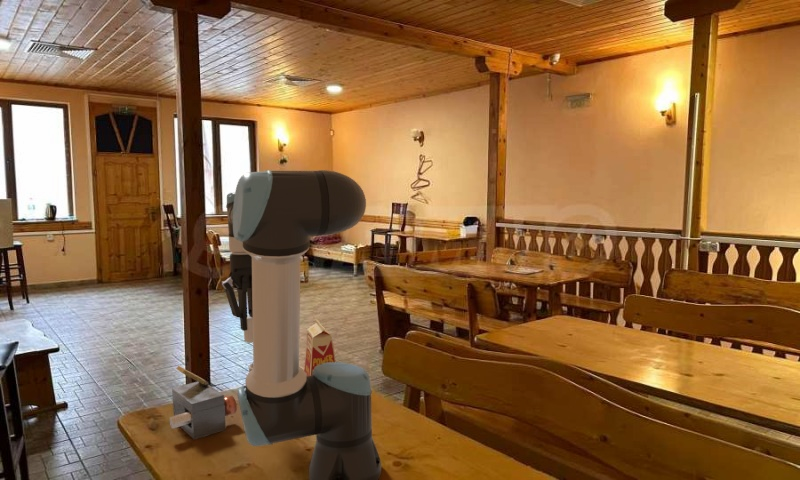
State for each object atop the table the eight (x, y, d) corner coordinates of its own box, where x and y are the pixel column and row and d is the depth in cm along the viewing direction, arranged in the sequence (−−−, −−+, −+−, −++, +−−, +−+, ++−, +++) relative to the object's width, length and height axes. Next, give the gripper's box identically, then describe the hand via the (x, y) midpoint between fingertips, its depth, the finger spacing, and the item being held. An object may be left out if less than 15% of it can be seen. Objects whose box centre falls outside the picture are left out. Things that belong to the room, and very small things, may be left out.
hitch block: (226, 429, 138) (224, 395, 137) (194, 439, 133) (191, 404, 132) (204, 412, 149) (202, 380, 148) (174, 421, 144) (171, 388, 143)
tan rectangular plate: (207, 386, 143) (209, 383, 144) (182, 373, 139) (185, 370, 139) (200, 381, 147) (202, 378, 147) (175, 368, 143) (178, 365, 143)
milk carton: (302, 382, 169) (299, 319, 167) (330, 377, 173) (328, 315, 171) (310, 392, 161) (307, 326, 159) (340, 387, 165) (337, 322, 163)
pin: (237, 415, 141) (236, 398, 140) (175, 435, 131) (174, 416, 130) (229, 410, 144) (228, 393, 144) (168, 428, 134) (167, 410, 134)
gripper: (261, 248, 149) (265, 333, 151) (214, 253, 140) (219, 343, 143) (274, 251, 143) (278, 339, 146) (226, 256, 135) (231, 350, 137)
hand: (249, 341), depth 144 cm, fingers closed
